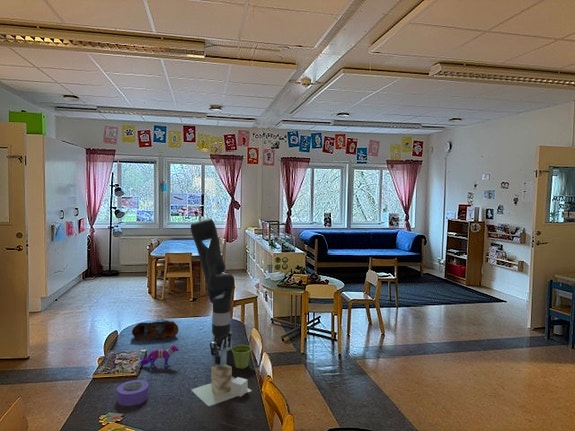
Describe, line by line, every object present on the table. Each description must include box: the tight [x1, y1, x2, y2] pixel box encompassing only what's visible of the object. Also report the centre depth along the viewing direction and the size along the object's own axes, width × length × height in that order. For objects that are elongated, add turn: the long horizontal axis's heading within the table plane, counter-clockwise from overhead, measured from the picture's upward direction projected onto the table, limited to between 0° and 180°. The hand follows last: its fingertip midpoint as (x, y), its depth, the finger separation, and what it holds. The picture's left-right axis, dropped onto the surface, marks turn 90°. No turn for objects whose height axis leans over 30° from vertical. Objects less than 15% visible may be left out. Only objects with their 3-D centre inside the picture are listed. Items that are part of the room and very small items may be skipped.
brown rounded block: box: [131, 320, 179, 342], centre depth 234 cm, size 25×13×17 cm
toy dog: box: [139, 343, 180, 368], centre depth 193 cm, size 4×18×10 cm, turn 97°
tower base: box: [211, 379, 231, 395], centre depth 171 cm, size 6×6×5 cm
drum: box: [217, 347, 228, 365], centre depth 170 cm, size 5×5×6 cm
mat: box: [190, 375, 252, 407], centre depth 171 cm, size 20×16×1 cm
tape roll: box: [116, 379, 149, 407], centre depth 164 cm, size 12×12×5 cm
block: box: [231, 376, 249, 398], centre depth 169 cm, size 5×5×5 cm
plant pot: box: [230, 344, 252, 369], centre depth 194 cm, size 9×9×9 cm
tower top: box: [210, 363, 233, 384], centre depth 170 cm, size 6×6×5 cm
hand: (221, 361), depth 170 cm, fingers closed on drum, 4 cm apart
